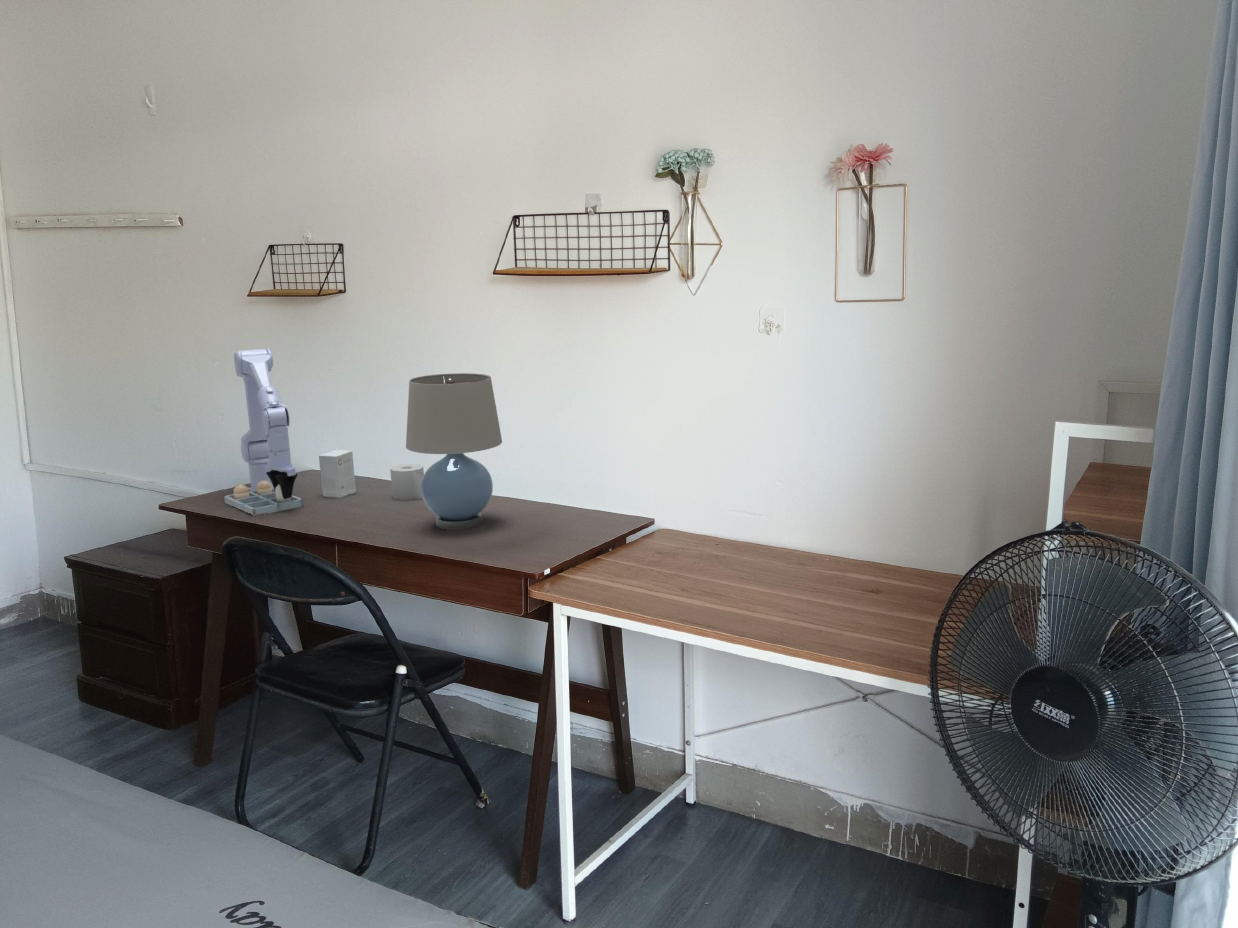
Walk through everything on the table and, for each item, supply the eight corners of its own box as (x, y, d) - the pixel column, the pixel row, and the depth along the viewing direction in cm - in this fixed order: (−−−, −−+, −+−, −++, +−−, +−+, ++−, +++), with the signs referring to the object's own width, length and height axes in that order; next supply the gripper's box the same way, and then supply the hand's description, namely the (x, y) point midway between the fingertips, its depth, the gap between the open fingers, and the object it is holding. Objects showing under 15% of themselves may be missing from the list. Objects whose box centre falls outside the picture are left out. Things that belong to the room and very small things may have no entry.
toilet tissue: (438, 497, 275) (436, 468, 273) (392, 501, 272) (390, 472, 270) (437, 489, 283) (435, 462, 281) (392, 493, 280) (390, 465, 279)
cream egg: (288, 498, 269) (286, 480, 268) (294, 501, 266) (292, 483, 265) (273, 501, 266) (272, 483, 265) (279, 504, 263) (277, 486, 262)
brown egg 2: (269, 495, 279) (267, 478, 278) (275, 497, 276) (273, 480, 275) (255, 498, 276) (253, 480, 275) (261, 500, 273) (259, 483, 272)
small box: (339, 491, 284) (335, 449, 281) (356, 492, 282) (353, 450, 279) (322, 498, 277) (318, 455, 274) (340, 499, 275) (336, 456, 272)
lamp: (405, 517, 255) (394, 375, 246) (494, 506, 263) (487, 369, 254) (419, 542, 232) (408, 387, 223) (516, 530, 240) (509, 380, 232)
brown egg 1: (246, 499, 275) (244, 482, 273) (252, 502, 272) (250, 484, 270) (232, 502, 272) (230, 484, 271) (238, 505, 269) (235, 487, 268)
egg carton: (272, 494, 282) (271, 486, 281) (303, 507, 266) (302, 499, 266) (224, 504, 272) (223, 496, 271) (253, 518, 257) (252, 509, 256)
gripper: (254, 448, 265) (259, 494, 268) (275, 455, 255) (281, 503, 258) (278, 444, 270) (283, 490, 273) (300, 451, 260) (305, 498, 263)
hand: (283, 496), depth 266 cm, fingers closed on cream egg, 4 cm apart
